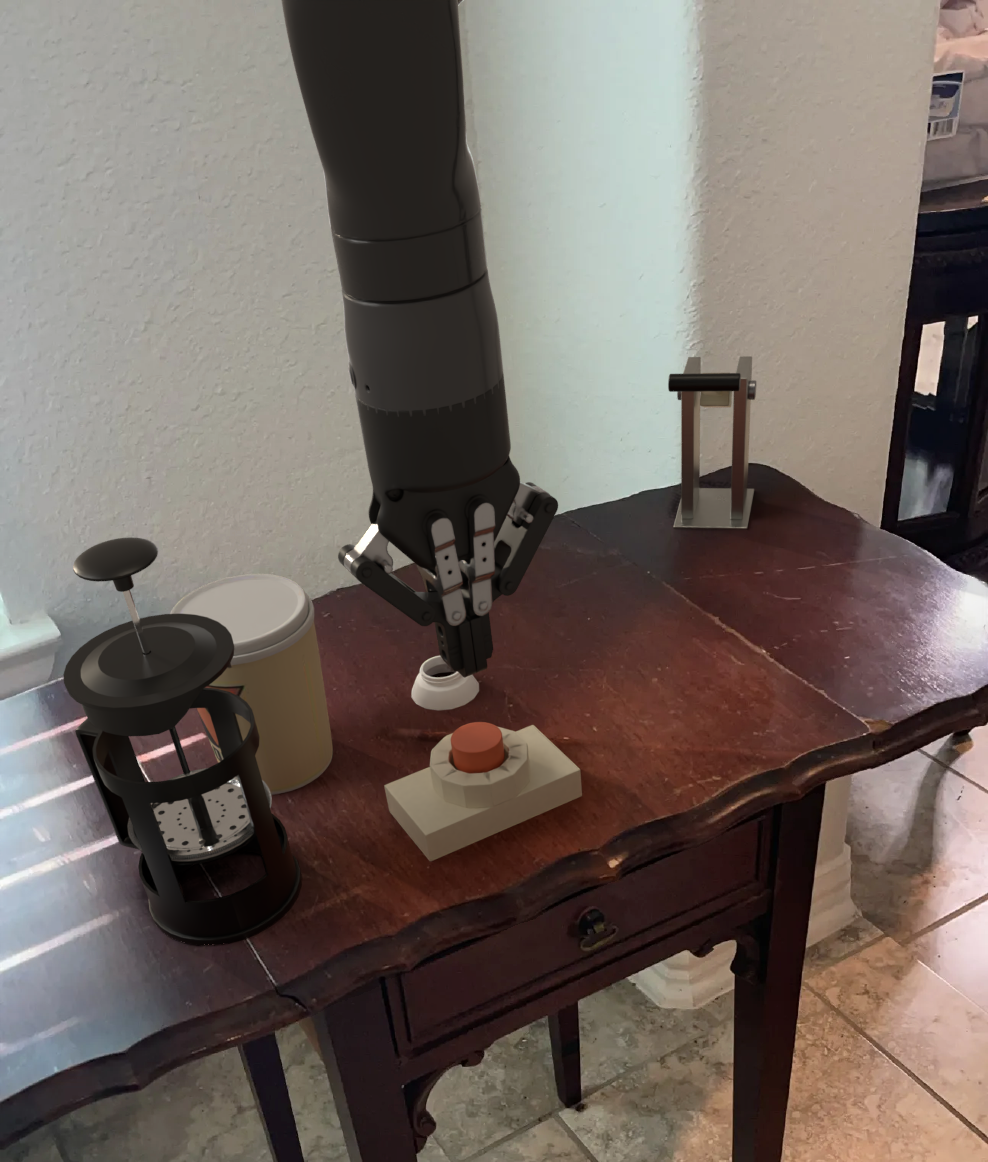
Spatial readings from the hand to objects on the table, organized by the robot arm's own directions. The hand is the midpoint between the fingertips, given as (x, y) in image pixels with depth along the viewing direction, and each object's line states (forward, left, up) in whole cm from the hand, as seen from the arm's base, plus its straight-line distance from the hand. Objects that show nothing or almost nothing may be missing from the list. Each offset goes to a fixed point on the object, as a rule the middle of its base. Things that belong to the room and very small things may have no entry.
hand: (469, 667), depth 75 cm
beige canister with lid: (+16, -3, -11) cm, 19 cm away
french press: (+15, +10, -11) cm, 21 cm away
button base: (0, 0, -10) cm, 10 cm away
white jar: (+6, -11, -11) cm, 16 cm away
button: (0, 0, -7) cm, 7 cm away
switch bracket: (-10, -39, -10) cm, 42 cm away
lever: (-10, -34, +2) cm, 36 cm away
